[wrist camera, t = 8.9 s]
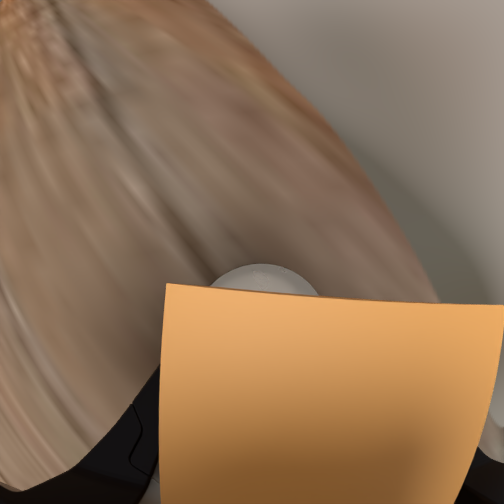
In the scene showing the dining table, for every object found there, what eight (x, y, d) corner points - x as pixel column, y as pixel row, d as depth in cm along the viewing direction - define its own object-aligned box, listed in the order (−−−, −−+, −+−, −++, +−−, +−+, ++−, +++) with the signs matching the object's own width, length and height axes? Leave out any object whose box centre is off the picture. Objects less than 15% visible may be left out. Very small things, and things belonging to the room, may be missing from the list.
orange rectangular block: (311, 394, 16) (431, 543, 3) (209, 389, 16) (167, 568, 3) (323, 296, 16) (505, 305, 4) (218, 286, 16) (167, 283, 4)
